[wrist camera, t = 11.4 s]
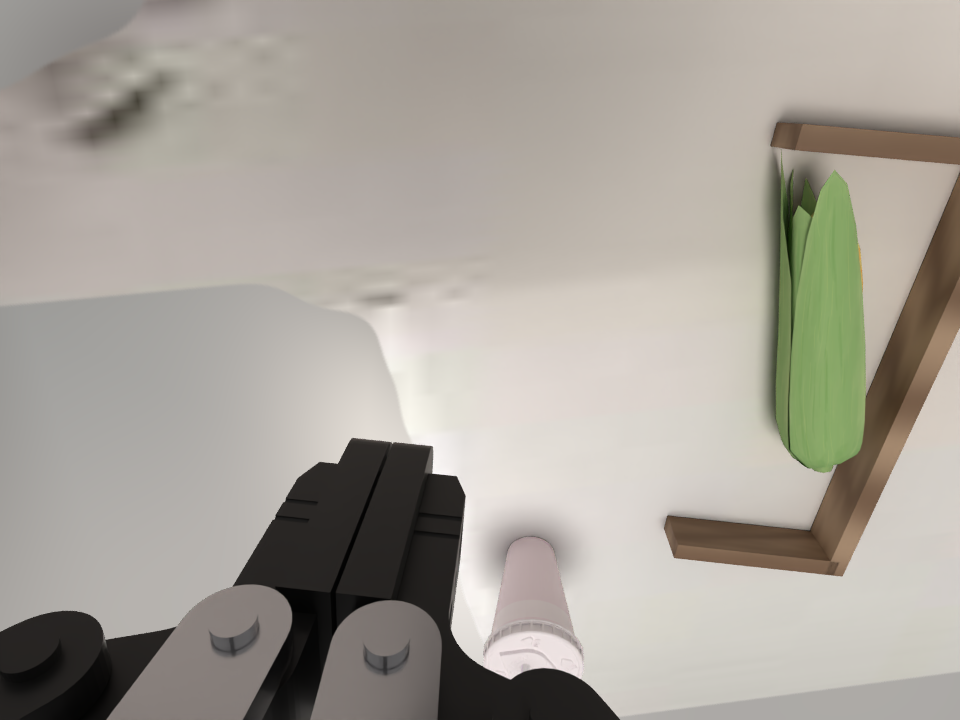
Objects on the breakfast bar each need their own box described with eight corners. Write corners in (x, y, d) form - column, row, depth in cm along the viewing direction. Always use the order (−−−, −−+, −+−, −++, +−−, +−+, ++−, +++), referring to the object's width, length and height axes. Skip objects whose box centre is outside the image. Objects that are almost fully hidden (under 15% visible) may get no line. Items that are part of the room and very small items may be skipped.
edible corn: (780, 489, 35) (867, 493, 33) (776, 155, 27) (888, 136, 26) (772, 444, 39) (849, 446, 37) (767, 145, 32) (862, 129, 30)
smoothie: (515, 509, 42) (513, 685, 29) (588, 544, 43) (617, 730, 30) (475, 564, 44) (457, 749, 32) (545, 596, 45) (554, 788, 33)
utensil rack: (777, 122, 30) (802, 123, 27) (997, 141, 30) (1045, 145, 27) (664, 528, 42) (674, 557, 39) (821, 545, 41) (842, 576, 39)
